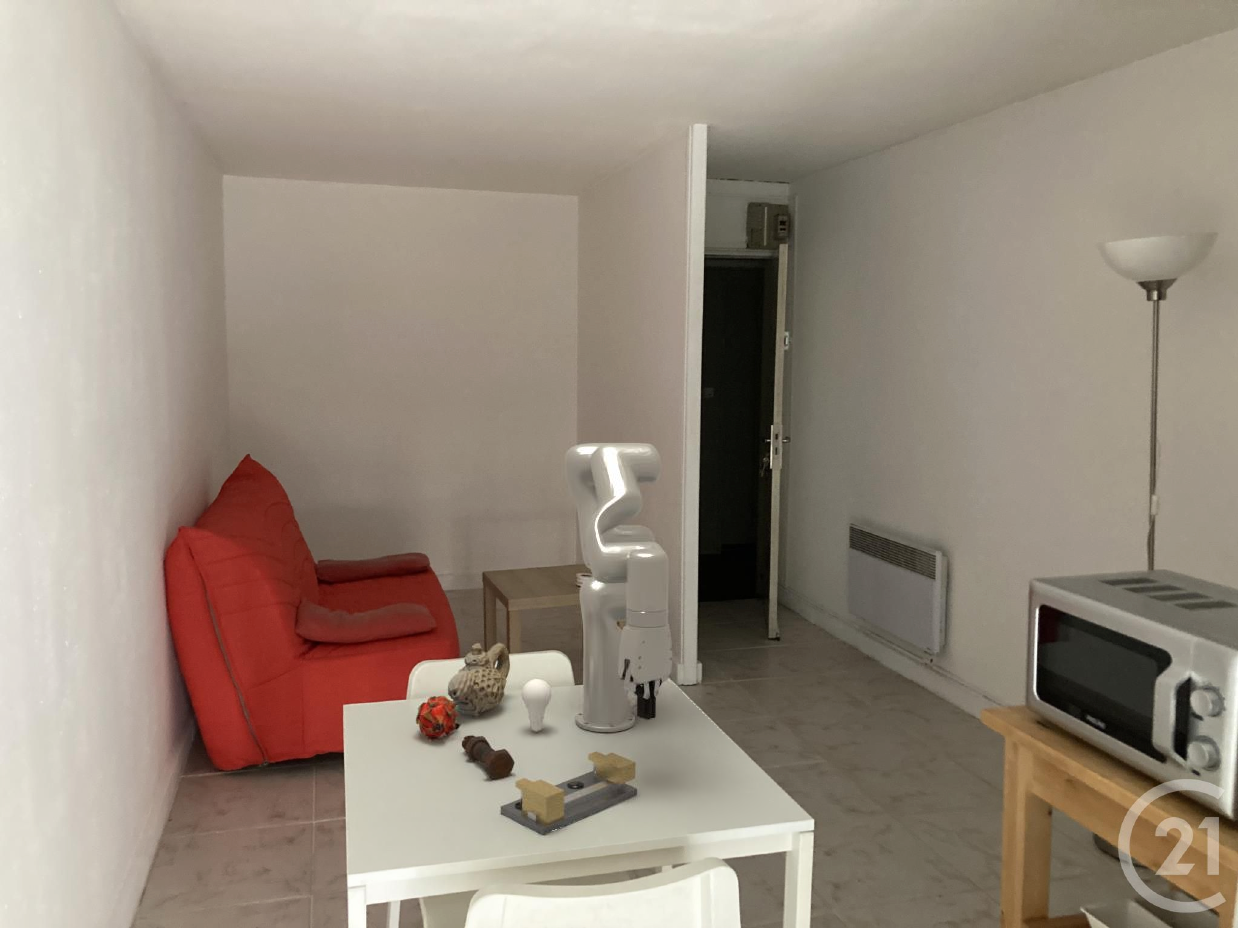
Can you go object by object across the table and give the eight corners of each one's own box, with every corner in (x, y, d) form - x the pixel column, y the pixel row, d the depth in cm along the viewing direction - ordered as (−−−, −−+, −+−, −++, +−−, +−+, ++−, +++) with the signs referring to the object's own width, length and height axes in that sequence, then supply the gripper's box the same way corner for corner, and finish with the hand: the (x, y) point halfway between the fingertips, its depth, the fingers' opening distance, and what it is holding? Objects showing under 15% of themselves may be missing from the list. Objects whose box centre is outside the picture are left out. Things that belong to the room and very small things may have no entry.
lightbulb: (556, 729, 212) (556, 677, 210) (542, 738, 206) (542, 686, 205) (530, 724, 214) (531, 673, 213) (516, 733, 209) (516, 681, 207)
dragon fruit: (440, 730, 214) (441, 760, 203) (407, 710, 212) (406, 740, 200) (465, 699, 213) (467, 728, 202) (431, 679, 211) (432, 707, 199)
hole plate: (594, 776, 188) (594, 745, 187) (637, 794, 180) (637, 762, 180) (500, 813, 172) (500, 779, 172) (543, 835, 165) (543, 800, 164)
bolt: (472, 759, 200) (505, 785, 187) (451, 751, 197) (482, 776, 185) (485, 732, 201) (519, 755, 188) (464, 723, 198) (497, 746, 186)
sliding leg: (599, 769, 187) (600, 747, 186) (635, 784, 180) (635, 761, 180) (584, 775, 184) (584, 753, 184) (619, 790, 178) (619, 768, 177)
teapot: (474, 731, 210) (473, 660, 208) (427, 721, 215) (427, 652, 213) (526, 700, 229) (527, 634, 228) (483, 692, 234) (483, 628, 232)
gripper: (659, 608, 191) (658, 703, 193) (602, 621, 181) (602, 721, 182) (690, 614, 186) (688, 712, 187) (633, 628, 175) (632, 732, 177)
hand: (646, 717), depth 185 cm, fingers closed
